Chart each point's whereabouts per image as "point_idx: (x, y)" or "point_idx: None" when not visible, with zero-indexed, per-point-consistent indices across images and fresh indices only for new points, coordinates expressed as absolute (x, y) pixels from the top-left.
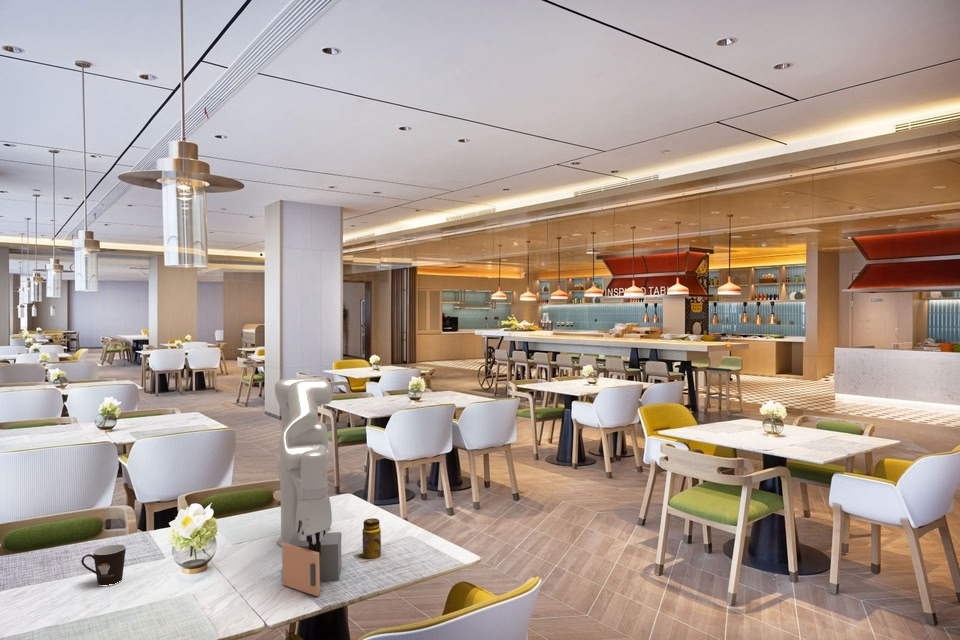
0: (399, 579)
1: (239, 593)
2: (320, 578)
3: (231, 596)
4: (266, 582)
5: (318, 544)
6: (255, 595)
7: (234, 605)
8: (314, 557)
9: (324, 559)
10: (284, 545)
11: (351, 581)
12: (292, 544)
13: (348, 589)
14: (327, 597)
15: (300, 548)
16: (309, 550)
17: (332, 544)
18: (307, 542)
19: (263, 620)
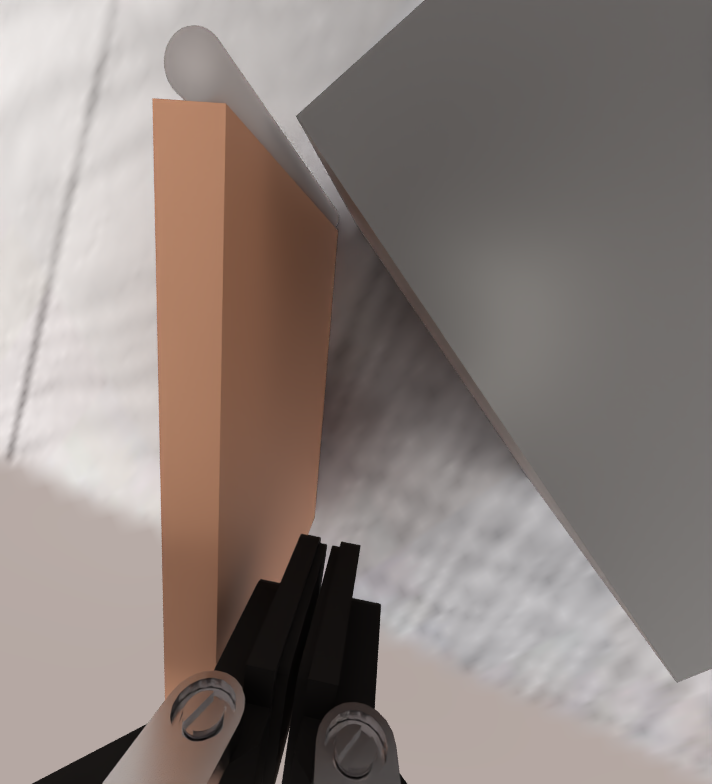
0: (658, 745)
1: (105, 38)
2: (474, 398)
3: (53, 29)
4: (308, 58)
5: (285, 782)
6: (144, 169)
7: (4, 167)
8: None
9: (527, 470)
10: (160, 154)
11: (543, 550)
12: (428, 96)
13: (447, 590)
14: (326, 551)
15: (187, 510)
16: (200, 655)
17: (643, 630)
18: (596, 266)
19: (12, 441)
